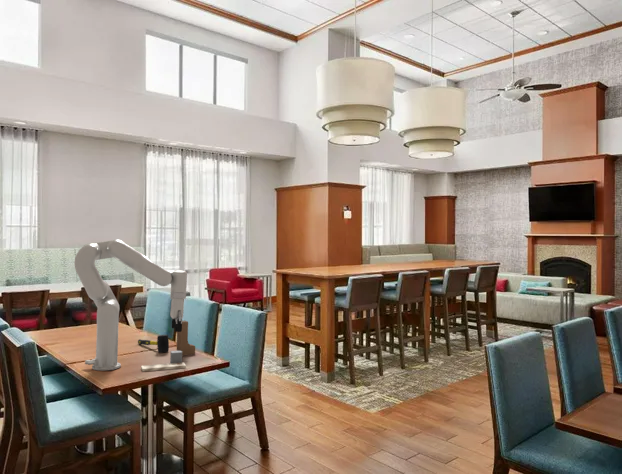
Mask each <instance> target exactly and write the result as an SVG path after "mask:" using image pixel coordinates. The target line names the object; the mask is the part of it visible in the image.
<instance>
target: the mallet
mask: <svg viewBox="0 0 622 474" xmlns="http://www.w3.org/2000/svg"><path fill="white" fill-rule="evenodd" d="M137 344H138V345H145V346H157V351H158V353H159V354H160V353H162V354H163V353H168V352H169V349H170V345H169V344H170V342H169V334H160V335H157V340H148V339H138V340H137Z"/></svg>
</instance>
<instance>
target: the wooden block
mask: <svg viewBox="0 0 622 474" xmlns="http://www.w3.org/2000/svg"><path fill="white" fill-rule="evenodd" d="M188 337H189V321H187V320H182V331H181V332H176V351H182V357H183V356H184V357H185V356H190V355H195V354H196V345H193V344H192V343H191V344H190V343H189V338H188Z"/></svg>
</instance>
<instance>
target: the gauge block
mask: <svg viewBox="0 0 622 474" xmlns="http://www.w3.org/2000/svg"><path fill="white" fill-rule="evenodd" d="M169 361H170V363H183V356H182V351H177V350H171V351H170V360H169ZM170 363H169V364H170Z"/></svg>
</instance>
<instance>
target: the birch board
mask: <svg viewBox="0 0 622 474" xmlns="http://www.w3.org/2000/svg"><path fill="white" fill-rule="evenodd" d="M186 368H187V364H185V362H183V361H182V363H162V364H161V363H160V364H148V365H147V364H145V365H141V366H140V370H141V371H142V372H153V371H163V370H166V371H167V370H176V369H177V370H178V369H186Z"/></svg>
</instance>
